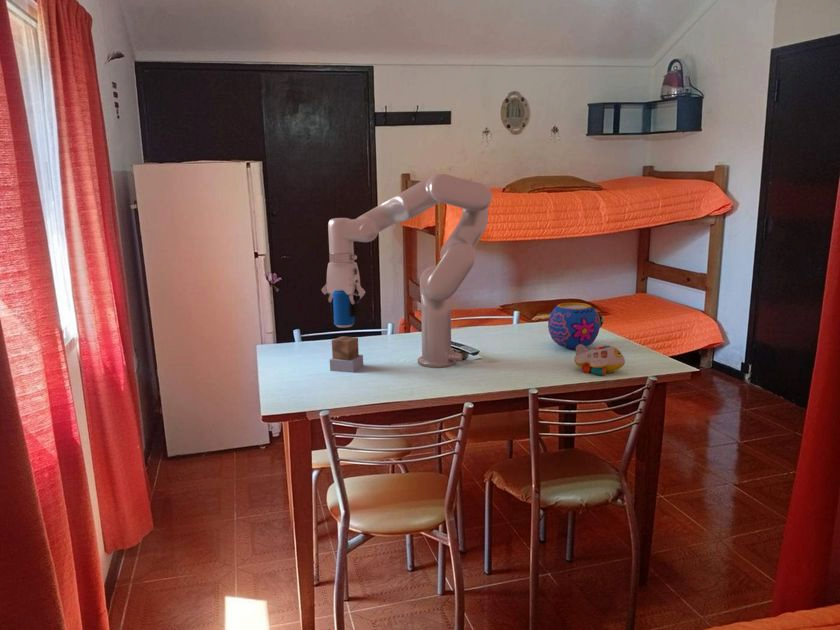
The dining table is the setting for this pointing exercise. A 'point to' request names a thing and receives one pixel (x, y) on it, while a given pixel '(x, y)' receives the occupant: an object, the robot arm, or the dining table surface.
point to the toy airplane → (599, 359)
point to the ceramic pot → (574, 324)
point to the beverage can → (342, 309)
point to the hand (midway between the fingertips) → (344, 314)
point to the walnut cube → (345, 348)
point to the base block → (346, 364)
